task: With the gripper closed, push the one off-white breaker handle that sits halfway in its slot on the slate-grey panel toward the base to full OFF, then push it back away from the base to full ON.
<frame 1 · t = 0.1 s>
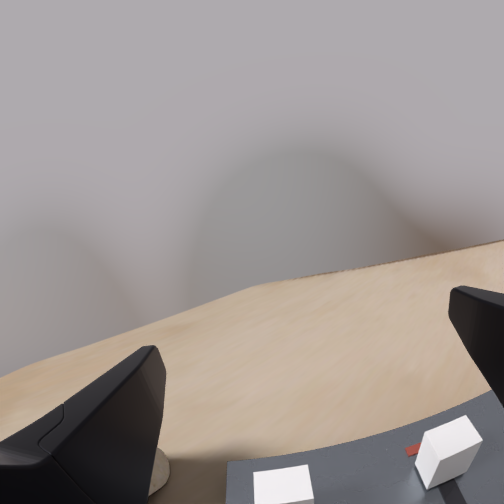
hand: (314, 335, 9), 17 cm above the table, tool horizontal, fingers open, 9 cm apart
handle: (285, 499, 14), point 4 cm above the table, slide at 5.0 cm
handle mid: (447, 453, 14), point 4 cm above the table, slide at 5.0 cm
faceted grey rock: (135, 495, 19), on the table
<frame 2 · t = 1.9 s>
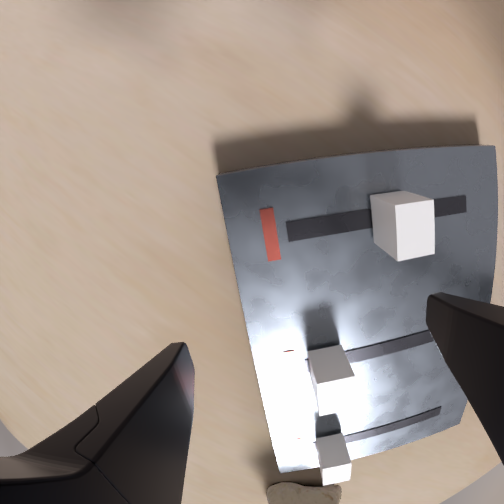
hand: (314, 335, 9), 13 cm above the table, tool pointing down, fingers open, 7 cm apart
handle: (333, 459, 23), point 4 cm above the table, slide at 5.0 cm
handle mid: (331, 379, 20), point 4 cm above the table, slide at 5.0 cm
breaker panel: (379, 333, 24), on the table
tripped handle: (401, 222, 17), point 4 cm above the table, slide at 0.0 cm
faceted grey rock: (302, 487, 31), on the table
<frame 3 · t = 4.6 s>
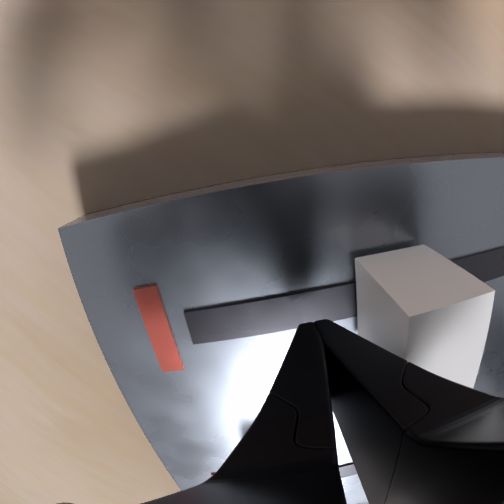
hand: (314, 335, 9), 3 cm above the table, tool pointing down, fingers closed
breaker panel: (363, 436, 15), on the table
tripped handle: (416, 322, 8), point 4 cm above the table, slide at 0.0 cm, touching gripper
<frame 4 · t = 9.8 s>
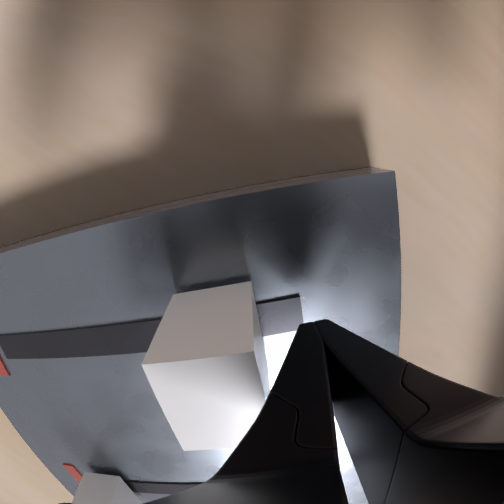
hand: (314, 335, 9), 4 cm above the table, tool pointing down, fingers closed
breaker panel: (198, 461, 15), on the table
tripped handle: (218, 364, 8), point 4 cm above the table, slide at -3.9 cm, touching gripper
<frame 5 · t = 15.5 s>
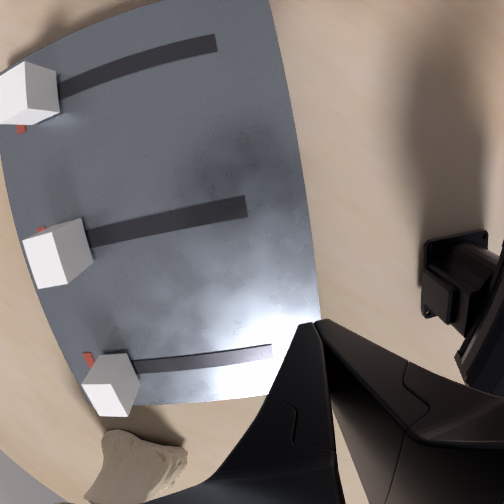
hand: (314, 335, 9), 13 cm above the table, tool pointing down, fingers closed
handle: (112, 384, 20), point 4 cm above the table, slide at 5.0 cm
handle mid: (59, 252, 17), point 4 cm above the table, slide at 5.0 cm
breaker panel: (149, 220, 21), on the table
tripped handle: (27, 95, 14), point 4 cm above the table, slide at 5.1 cm
faceted grey rock: (147, 444, 28), on the table
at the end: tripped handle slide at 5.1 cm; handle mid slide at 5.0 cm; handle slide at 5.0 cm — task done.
